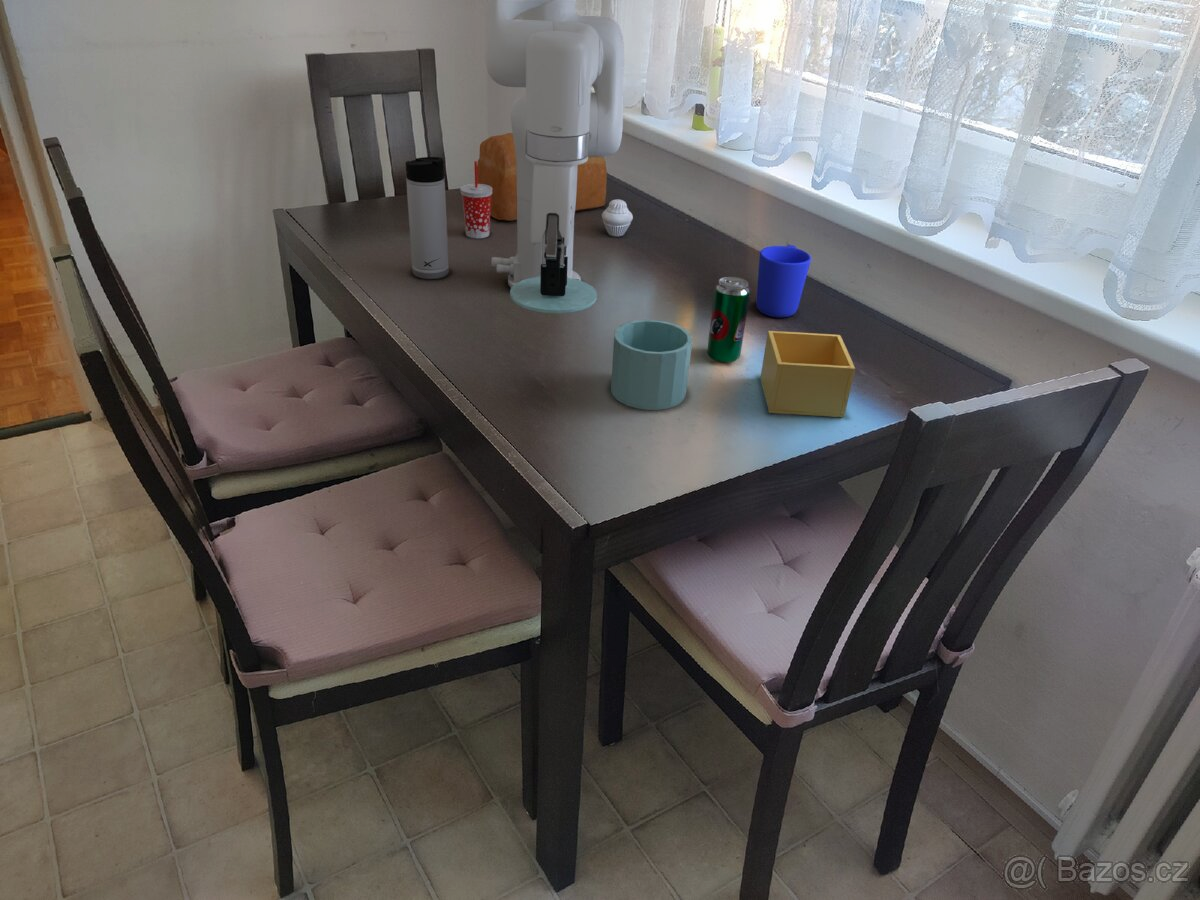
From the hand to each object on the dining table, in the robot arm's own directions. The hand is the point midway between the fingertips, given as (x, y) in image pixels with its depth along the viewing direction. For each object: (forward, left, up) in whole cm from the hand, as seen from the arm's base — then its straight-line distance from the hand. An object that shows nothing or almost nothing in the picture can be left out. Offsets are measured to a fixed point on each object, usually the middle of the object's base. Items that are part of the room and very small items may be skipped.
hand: (553, 289), depth 117 cm
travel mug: (-24, +38, -15) cm, 47 cm away
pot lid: (0, 0, -1) cm, 1 cm away
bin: (+35, +1, -14) cm, 38 cm away
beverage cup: (-19, +59, -15) cm, 64 cm away
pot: (+13, 0, -14) cm, 20 cm away
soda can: (+25, +12, -15) cm, 31 cm away
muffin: (+8, +64, -15) cm, 66 cm away
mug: (+36, +32, -15) cm, 50 cm away
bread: (-8, +78, -15) cm, 80 cm away
